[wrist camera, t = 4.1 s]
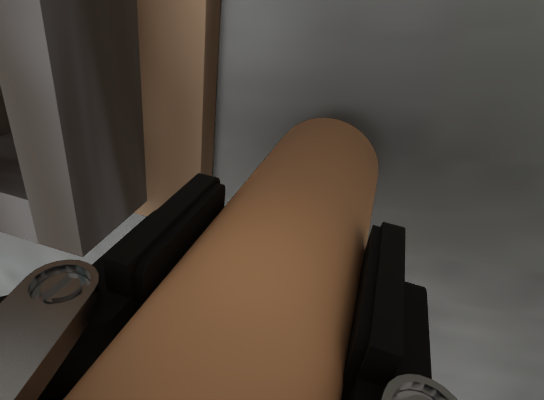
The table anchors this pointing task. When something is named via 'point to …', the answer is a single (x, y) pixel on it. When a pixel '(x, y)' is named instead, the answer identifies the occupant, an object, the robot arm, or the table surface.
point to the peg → (258, 285)
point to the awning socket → (101, 112)
